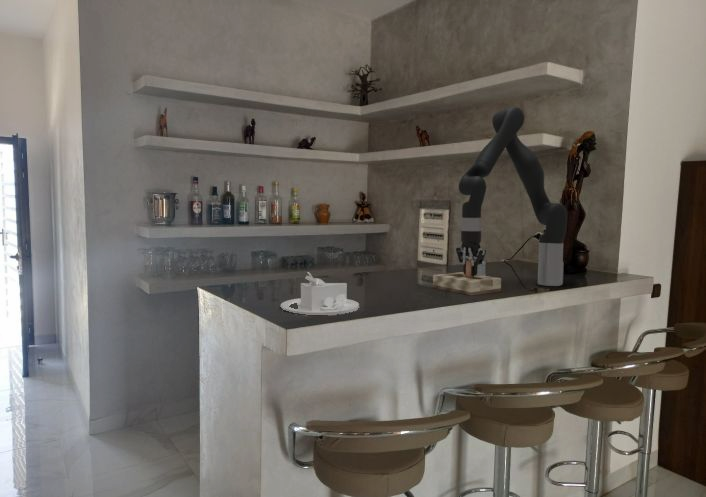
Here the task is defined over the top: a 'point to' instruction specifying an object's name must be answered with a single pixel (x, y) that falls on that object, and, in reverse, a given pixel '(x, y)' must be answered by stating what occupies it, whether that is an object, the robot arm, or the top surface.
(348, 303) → the dish
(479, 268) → the medicine box
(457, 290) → the beige flat block
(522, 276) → the top surface
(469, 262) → the peg
